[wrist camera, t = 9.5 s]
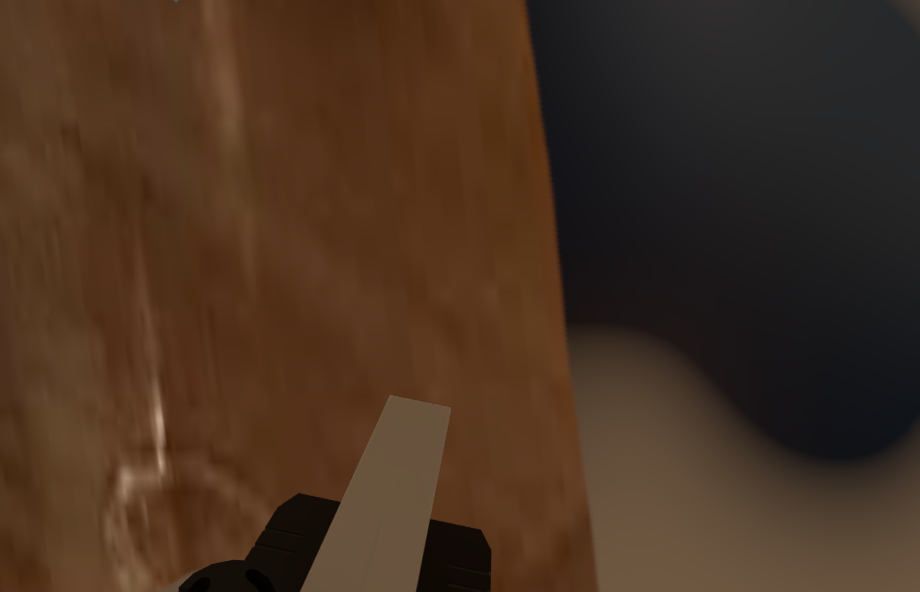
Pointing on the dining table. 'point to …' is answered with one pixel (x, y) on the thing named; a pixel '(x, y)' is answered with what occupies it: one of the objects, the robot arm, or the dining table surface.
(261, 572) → the robot arm
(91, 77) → the dining table surface
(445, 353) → the dining table surface
